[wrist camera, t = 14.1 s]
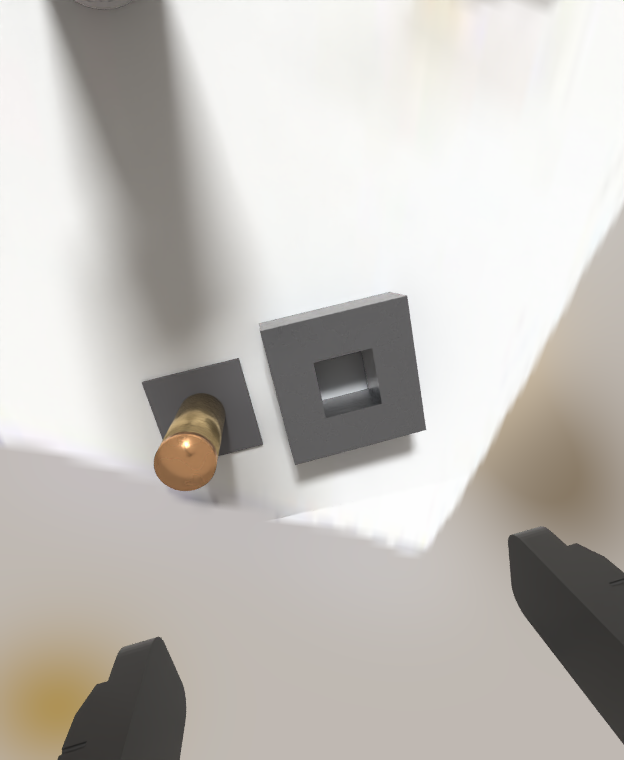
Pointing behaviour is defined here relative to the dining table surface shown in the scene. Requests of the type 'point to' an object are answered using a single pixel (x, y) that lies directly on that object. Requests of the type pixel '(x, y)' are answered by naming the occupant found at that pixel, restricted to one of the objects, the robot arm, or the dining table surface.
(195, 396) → the brass cylinder
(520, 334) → the dining table surface
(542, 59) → the dining table surface
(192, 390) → the mat
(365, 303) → the housing
